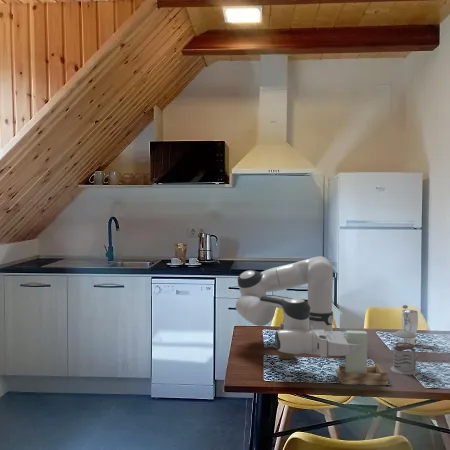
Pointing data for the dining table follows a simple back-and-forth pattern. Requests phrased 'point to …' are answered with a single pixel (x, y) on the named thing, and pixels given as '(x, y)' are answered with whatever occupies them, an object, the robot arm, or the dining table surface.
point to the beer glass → (410, 324)
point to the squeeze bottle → (282, 354)
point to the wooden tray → (364, 376)
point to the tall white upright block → (356, 352)
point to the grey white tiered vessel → (405, 353)
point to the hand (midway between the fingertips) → (358, 342)
